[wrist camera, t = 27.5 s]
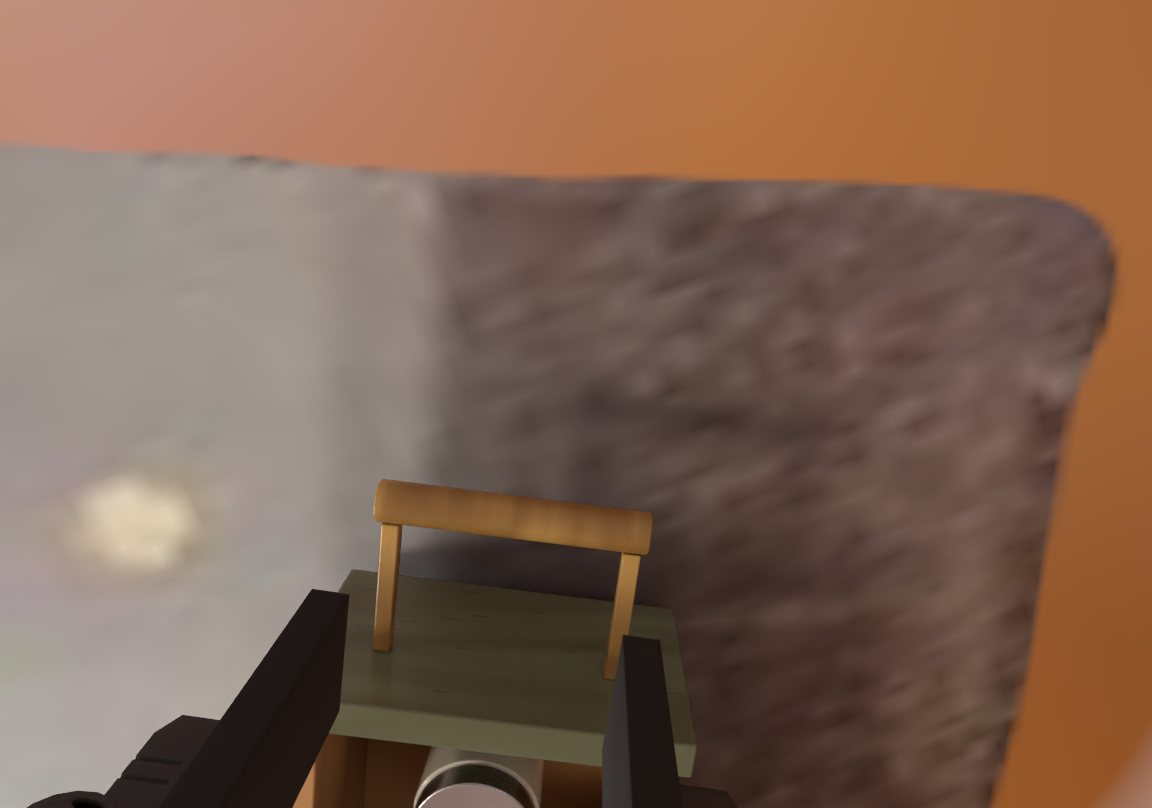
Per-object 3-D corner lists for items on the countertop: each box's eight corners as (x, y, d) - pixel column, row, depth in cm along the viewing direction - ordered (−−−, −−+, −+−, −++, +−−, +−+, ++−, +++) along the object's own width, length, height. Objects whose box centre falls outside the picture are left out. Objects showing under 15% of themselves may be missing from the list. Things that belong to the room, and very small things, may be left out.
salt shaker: (457, 766, 35) (426, 900, 29) (429, 676, 34) (390, 793, 28) (559, 748, 35) (551, 878, 28) (534, 655, 34) (520, 770, 27)
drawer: (360, 425, 33) (279, 510, 24) (696, 468, 33) (732, 566, 24) (336, 821, 37) (261, 1006, 29) (630, 857, 38) (640, 1052, 29)
